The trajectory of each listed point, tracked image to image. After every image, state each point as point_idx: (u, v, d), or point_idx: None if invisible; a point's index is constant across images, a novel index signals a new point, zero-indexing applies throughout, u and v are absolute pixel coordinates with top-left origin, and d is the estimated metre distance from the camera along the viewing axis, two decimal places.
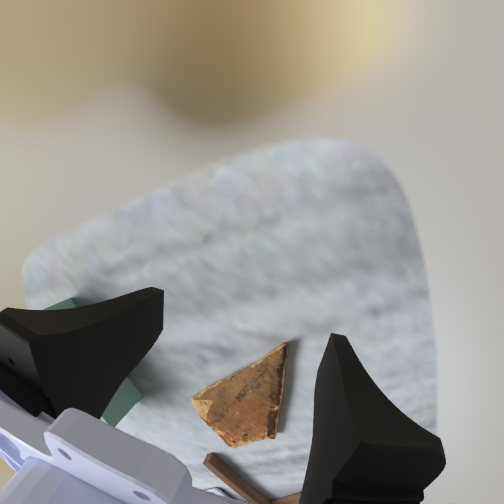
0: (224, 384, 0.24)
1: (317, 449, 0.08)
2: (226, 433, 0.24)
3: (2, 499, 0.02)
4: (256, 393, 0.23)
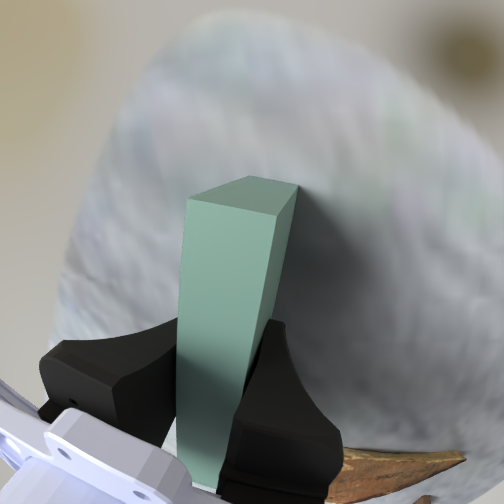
0: (387, 463, 0.14)
1: None
2: None
3: (2, 499, 0.02)
4: (398, 480, 0.15)
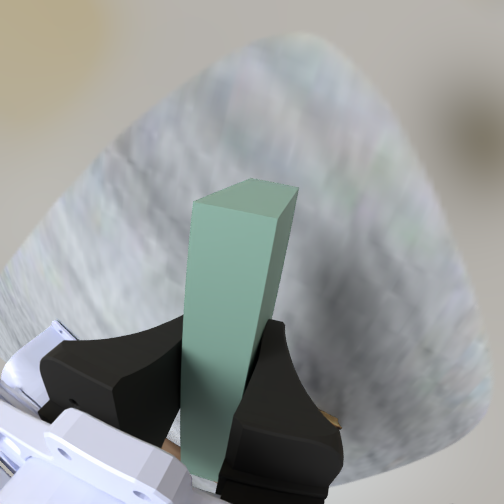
0: None
1: None
2: None
3: (2, 499, 0.02)
4: None
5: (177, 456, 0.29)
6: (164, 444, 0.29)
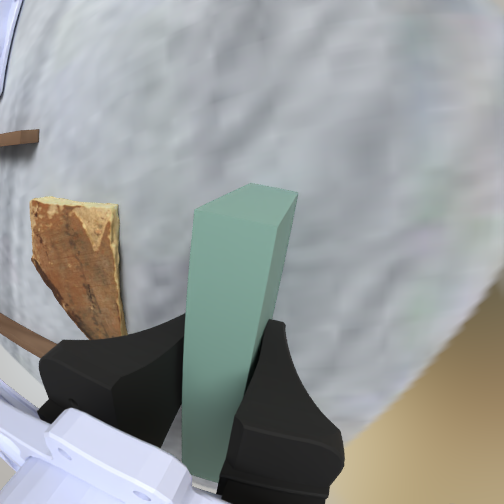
0: (111, 289, 0.15)
1: None
2: (48, 219, 0.14)
3: (2, 499, 0.02)
4: (87, 311, 0.16)
5: None
6: None
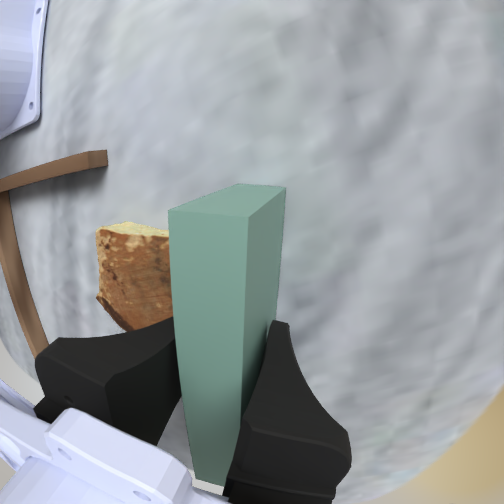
0: None
1: None
2: (127, 252, 0.14)
3: (2, 499, 0.02)
4: None
5: (12, 282, 0.17)
6: (10, 253, 0.17)
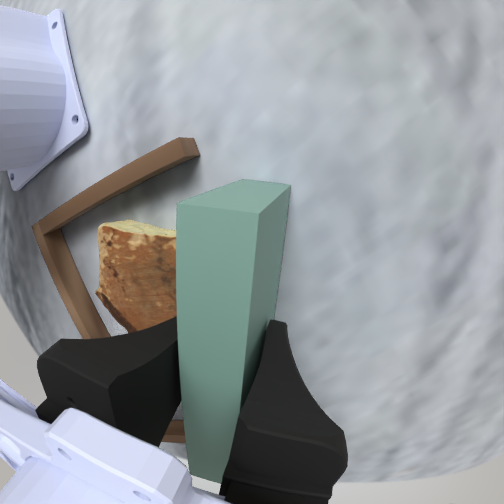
0: None
1: None
2: (129, 250, 0.14)
3: (2, 499, 0.02)
4: None
5: (90, 332, 0.16)
6: (79, 300, 0.16)
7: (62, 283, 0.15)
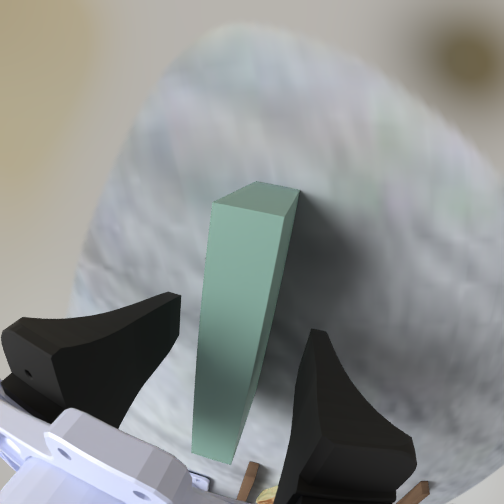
0: None
1: (292, 445, 0.08)
2: None
3: (2, 499, 0.02)
4: None
5: None
6: None
7: None
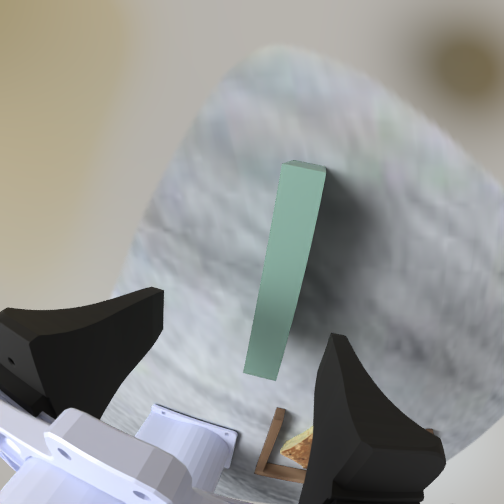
0: None
1: (317, 449, 0.08)
2: (299, 450, 0.26)
3: (2, 499, 0.02)
4: None
5: None
6: (301, 475, 0.28)
7: (288, 477, 0.27)
